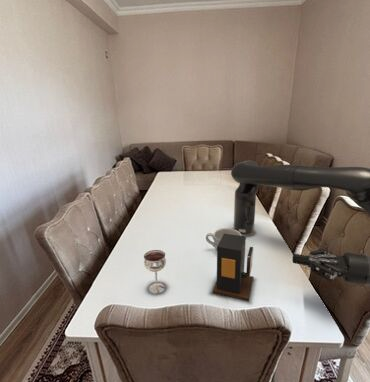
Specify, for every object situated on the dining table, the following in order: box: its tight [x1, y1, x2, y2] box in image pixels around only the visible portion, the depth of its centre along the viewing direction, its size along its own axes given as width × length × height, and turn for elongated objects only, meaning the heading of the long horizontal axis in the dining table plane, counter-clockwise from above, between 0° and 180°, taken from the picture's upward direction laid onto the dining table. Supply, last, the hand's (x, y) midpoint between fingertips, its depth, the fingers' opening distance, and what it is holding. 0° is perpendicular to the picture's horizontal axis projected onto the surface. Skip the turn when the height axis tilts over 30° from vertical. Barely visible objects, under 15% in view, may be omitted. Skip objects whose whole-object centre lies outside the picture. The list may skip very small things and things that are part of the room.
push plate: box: [245, 246, 254, 278], centre depth 76 cm, size 6×1×7 cm, turn 159°
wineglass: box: [143, 249, 167, 294], centre depth 79 cm, size 7×7×12 cm
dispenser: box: [212, 233, 254, 302], centre depth 78 cm, size 11×11×16 cm
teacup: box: [205, 227, 242, 252], centre depth 100 cm, size 14×11×8 cm
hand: (292, 258), depth 70 cm, fingers closed
